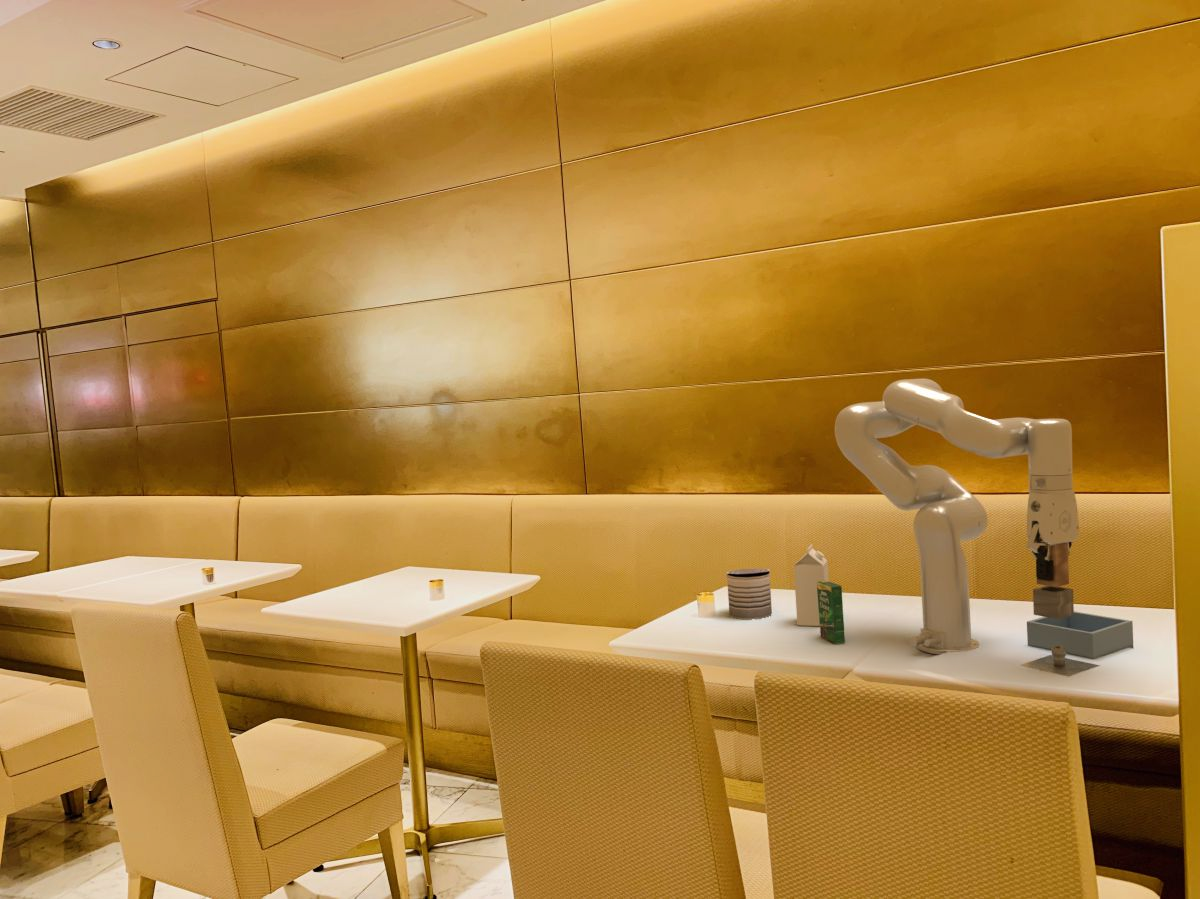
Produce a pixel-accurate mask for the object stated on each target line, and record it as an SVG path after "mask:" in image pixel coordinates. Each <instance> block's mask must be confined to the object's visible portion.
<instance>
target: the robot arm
mask: <svg viewBox="0 0 1200 899" xmlns="http://www.w3.org/2000/svg"><path fill="white" fill-rule="evenodd" d="M964 406H965V405H964V402H963V400H962V398H961V397H959V396H958V395H955V394H953V393H949V392H947V391H943V388H942V387H941V386H940V384H938V383H937V382H935V381H934V380H932V379H929V378H911V379H907V378H906V379H899V380H895V381H893V382H892V383H890V384H889V385H888V386H887V387H886V388H885V389H884V391H883V394H882V400H881V401H866V402H859V403H853V404H851V405H848V406H846V407H845V408H843V409H841V410H840V412H839V413H838V414H837V416H836V418H835V420H834V421H835V423H834V437H835V440H836V444H837V446H838V448H839V450H840V451H841V453H842V455H843V456H844V457H845V458H846V460H848V461H849V462H850V463H851V464H852V465H853V466H854V467H855V468H856V469H858V470H859V472H861V473H862V474H863V475H864V476H865V477H866V478H867V479H868V480H869V481H870V482H871V484H873V485H874V487H875V488H876V489H878V491H879V492H880V493H882V495H883V496H884V497H885V498H887V499H888V501H890V503H891V504H892V505H893V506H895V507H896V508H897V509H899V510H901V511H905V512H907V511H916V510H918V511H917V512H916V514H915V516H914V517H913V518H914V519H913V524H912V525H913V533H914V537H915V541H916V546H917V550H918V557H919V558H918V559H919V572H920V574H919V575H920V586H921V588H920V590H921V609H922V625H923V628H920V633H919V635H914V636H912V637H910V638H909V643H910V645H911V646H912V647H917V649H918V650H920V651H922V652H924V653H927V654H932V655H939V656H940V655H943V654H946V653H958V652H968V651H973V650H976V649H978V648H979V647H980V642H979V641H977V640H976V639H973V638H972V626H971V625H972V624H971V605H970V588H969V587H970V586H969V585H970V584H969V568H968V567H969V566H968V562H967V558H966V555H965V552H964V550H963V547H962V544H961V543H963V542H964V543H965V542H967V541H968V542H969V541H971V540H974V539H977V538H978V537H981V535H983V534H984V533H985V532H986V530H987V527H988V525H989V524H988V523H989V518H988V513H987V511H986V509H985V507H984V506H983V504H982V503H981V502H980V501H979V499H977V498H976V496H975V495H974V494H972V493H971V492H970V491H969V490H968V489H966V487H965V486H963V485H962V484H961V483H960V482H959V481H958V480H957V478H955V477H954V476H953V475H951V474H950V473H949V472H948V471H947V470H945V469H944V468H941V467H940V466H937V465H934V464H933V465H931V464H923V465H922V464H921V465H912V464H910V463H908V462H907V461H906V460H905V459H903V458H902V456H900V454H898V453H897V452H896V451H895V450H894V449H893V448H892V447H890V446H888V445H887V444H885V443H882V442H881V441H879V440H878V439H881V438H890V437H893V436H897V435H898V434H902V433H903V432H905V431H907V430H908V429H910V428H912V427H914V426H919V427H922V428H924V429H928V430H930V431H932V432H935V433H938V434H940V435H941V436H942V437H943V438H944V439H945V440H946V441H947V442H949V443H950V444H951V445H954V446H955V447H957V448H959V449H961V450H964V451H967V452H970V453H973V454H974V455H975V454H976V455H977V456H981V457H984V458H989V459H1003V458H1008V457H1016V456H1023V455H1027V458H1028V459H1027V461H1028V464H1027V465H1028V492H1029V493H1028V497H1027V498H1028V500H1027V509H1026V510H1027V511H1026V534H1027V535H1026V537H1027V542H1026V548H1027V549H1028V550H1030V551H1031V552H1032V554H1033V558H1034V559H1035V572H1036V573H1035V574H1036V575H1035V578H1036V580H1037V579H1040V580H1046V581H1053V579H1054V576H1053V560H1050V559H1051V552H1052V545H1057V544H1062V543H1066V542H1067V543H1068V557H1069V556H1070V554H1071V551H1070V549H1071V548H1072V545H1073V542H1074V541H1076V540H1077V539H1078V538H1079V537H1080V528H1079V524H1080V523H1079V515H1078V514H1079V512H1078V503H1077V498H1076V493H1075V490H1074V488H1073V487H1074V485H1073V481H1074V480H1073V431H1072V430H1073V428H1072V424H1071V422H1070V421H1069V420H1068V419H1065V418H1038V419H1034V418H1031V417H1030V418H1028V417H1018V416H1017V417H1009V418H999V419H990V418H987V417H984V416H981V415H978V414H975V413H973V412H970V411H967V410H965V407H964ZM1041 542H1047V543H1041ZM1041 546H1045V547H1046V548H1045V550H1044V549H1043V548H1042V547H1041Z"/></svg>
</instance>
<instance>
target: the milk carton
mask: <svg viewBox="0 0 1200 899" xmlns="http://www.w3.org/2000/svg"><path fill="white" fill-rule="evenodd" d="M813 546H814V545H813V544H810V545H809V546H808V548H806V551H807V552H806V553H805V554H804V555H803V556H802V557H801V558H800V559H798V560H797V562H795V563H794V565H793V572H794V573H793V574H794V575H793V576H794V588H795V590H794V592H795V608H796V610H795V611H796V624H797V626H804V627H806V626H808V627H810V626H811V627H820V621H819V608H818V595H817V582H818V581H829V567H828V566H829V565H828V564H829V563H828V560H827V559H826V558H825V555H824V553H822V551H819V550H817V551H816V550H815V549H814V547H813ZM829 582H830V581H829Z"/></svg>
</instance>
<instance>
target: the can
mask: <svg viewBox="0 0 1200 899" xmlns="http://www.w3.org/2000/svg"><path fill="white" fill-rule="evenodd" d="M770 571H771V569H770V568H745V569H744V568H742V569H736V570H729V571H727V572H726V577H727V578H726V580H727V597H728V598H727V599H728V612H729V613H728V614H729V617H730V618H732V619H735V620H743V621H744V620H745V621H753V620H752V619H755V620H763V619H762V618H764V619H767V618H770V617H772V615H771V614H773V610H772V608H773V607H772V594H771V593H772V592H771V590H772V589H771V577H770V576H771V574H770ZM769 616H770V617H769ZM766 617H767V618H766Z"/></svg>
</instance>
